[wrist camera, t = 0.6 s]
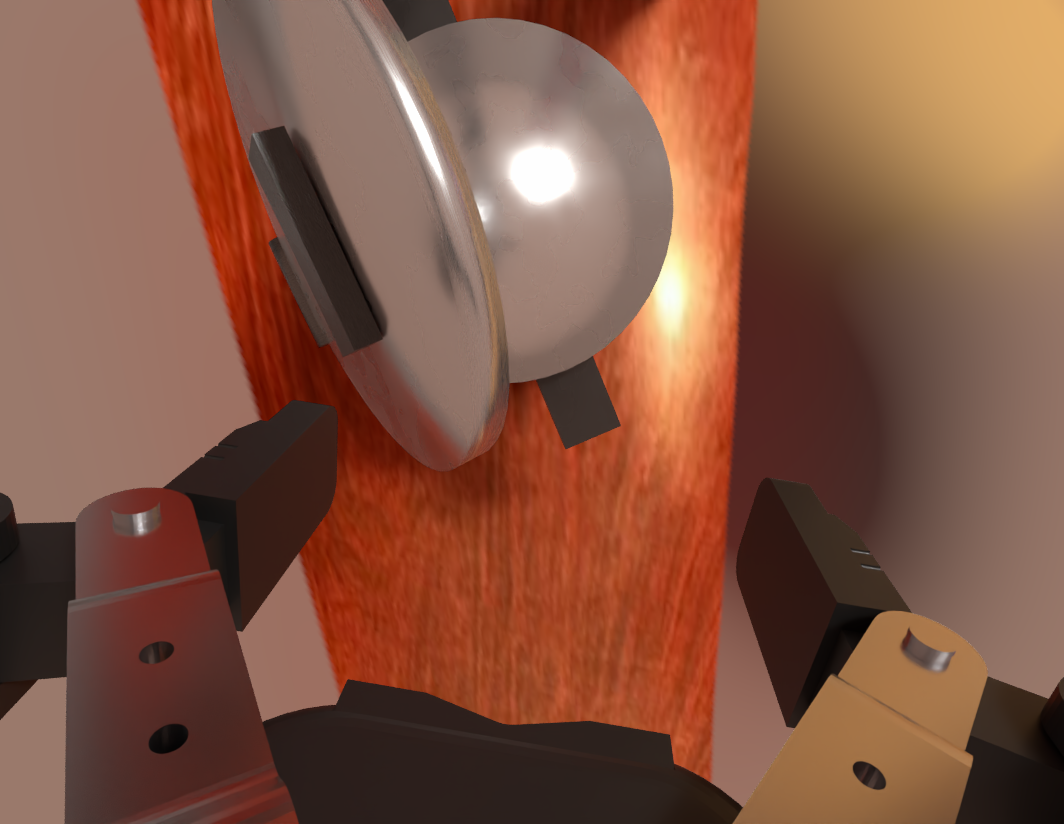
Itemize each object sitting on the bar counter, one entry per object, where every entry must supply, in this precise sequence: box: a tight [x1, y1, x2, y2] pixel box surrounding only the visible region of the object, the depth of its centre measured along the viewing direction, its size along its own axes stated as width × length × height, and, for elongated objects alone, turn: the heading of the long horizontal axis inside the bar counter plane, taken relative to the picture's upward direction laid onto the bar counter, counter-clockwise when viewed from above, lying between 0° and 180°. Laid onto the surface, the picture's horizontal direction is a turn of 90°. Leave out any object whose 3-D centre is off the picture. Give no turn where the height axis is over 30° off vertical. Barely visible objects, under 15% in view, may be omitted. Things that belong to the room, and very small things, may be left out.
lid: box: [212, 0, 509, 471], centre depth 22 cm, size 17×18×2 cm
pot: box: [382, 0, 673, 449], centre depth 34 cm, size 24×16×10 cm
